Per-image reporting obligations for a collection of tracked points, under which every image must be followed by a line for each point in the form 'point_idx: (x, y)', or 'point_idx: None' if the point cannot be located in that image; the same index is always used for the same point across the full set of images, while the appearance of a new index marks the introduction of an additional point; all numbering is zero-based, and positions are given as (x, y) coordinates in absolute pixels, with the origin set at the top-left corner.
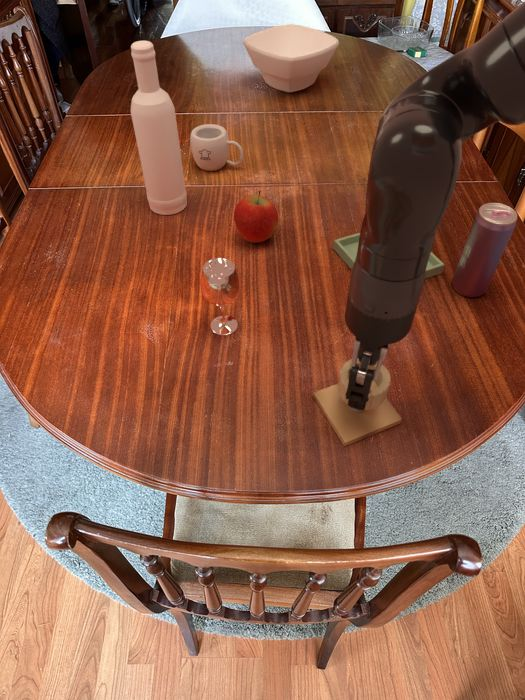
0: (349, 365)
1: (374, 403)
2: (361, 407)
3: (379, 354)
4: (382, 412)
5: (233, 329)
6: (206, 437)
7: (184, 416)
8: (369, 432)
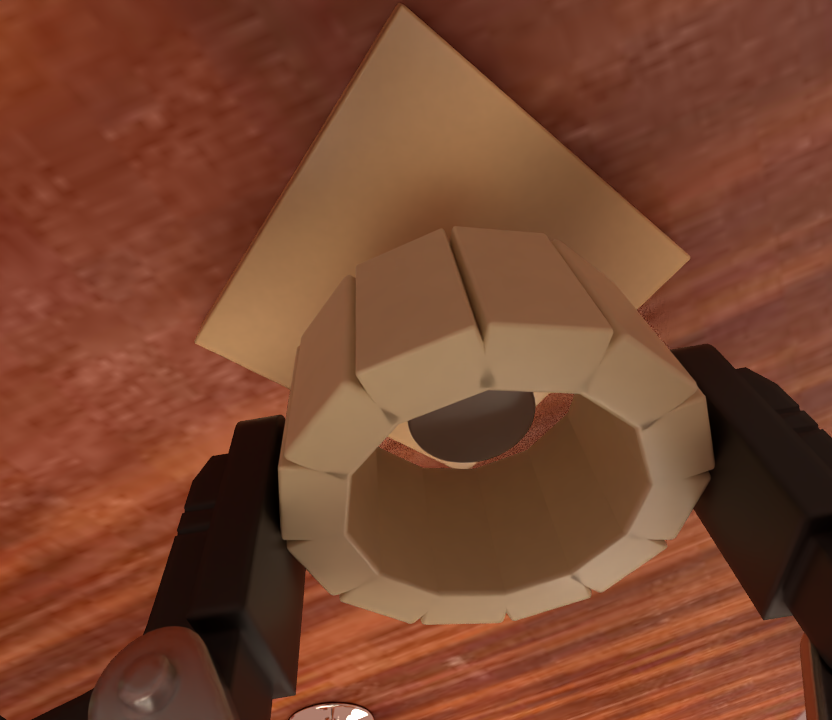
0: (448, 606)
1: (623, 302)
2: (759, 388)
3: (252, 574)
4: (417, 156)
5: (332, 710)
6: (738, 590)
7: (681, 646)
8: (591, 171)
